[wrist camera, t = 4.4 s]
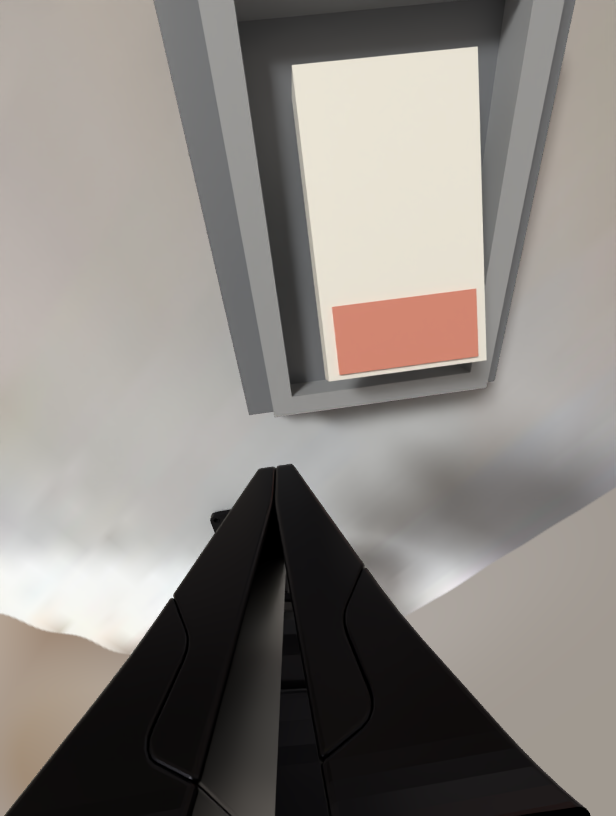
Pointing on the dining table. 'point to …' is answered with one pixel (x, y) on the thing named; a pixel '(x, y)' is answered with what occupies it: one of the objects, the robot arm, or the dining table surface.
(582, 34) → the dining table surface
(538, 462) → the dining table surface
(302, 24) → the frame
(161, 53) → the dining table surface
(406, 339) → the breaker switch
